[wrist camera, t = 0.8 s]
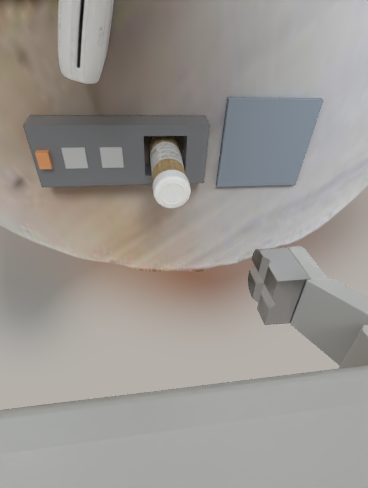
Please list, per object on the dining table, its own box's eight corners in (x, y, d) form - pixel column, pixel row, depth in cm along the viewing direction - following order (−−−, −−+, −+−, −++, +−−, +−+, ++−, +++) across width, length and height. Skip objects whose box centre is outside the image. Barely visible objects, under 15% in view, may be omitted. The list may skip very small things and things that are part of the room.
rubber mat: (227, 97, 43) (229, 99, 42) (320, 98, 45) (323, 100, 44) (216, 184, 52) (217, 187, 52) (293, 182, 54) (295, 184, 53)
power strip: (29, 115, 41) (21, 127, 38) (205, 115, 44) (210, 127, 41) (46, 175, 47) (40, 190, 44) (200, 171, 50) (204, 185, 47)
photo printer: (76, -57, 31) (54, -67, 22) (119, -40, 32) (115, -43, 23) (70, 56, 37) (51, 85, 28) (106, 66, 38) (99, 97, 29)
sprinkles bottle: (166, 165, 49) (175, 215, 39) (142, 149, 46) (145, 198, 36) (184, 142, 46) (199, 189, 37) (160, 124, 44) (168, 170, 34)
